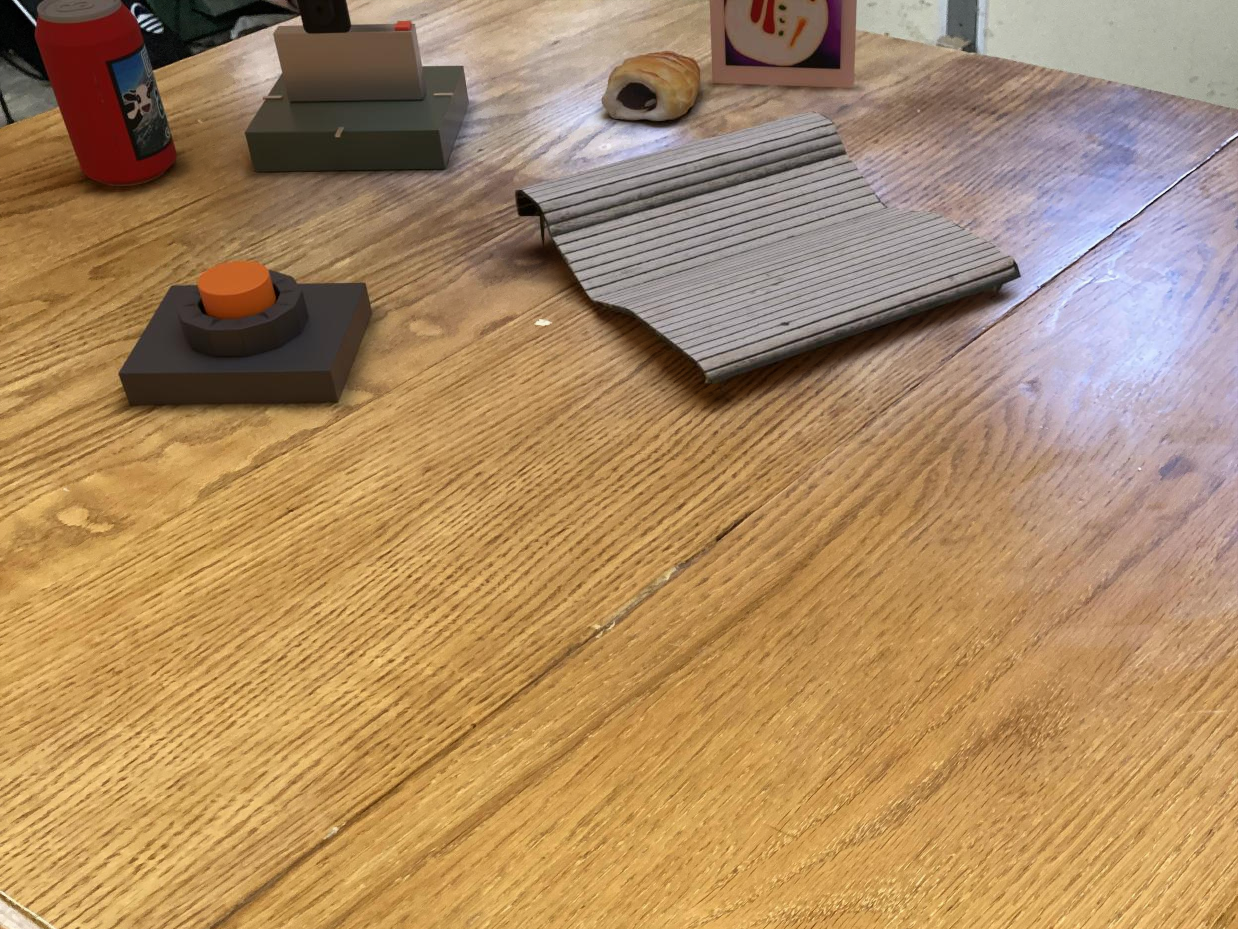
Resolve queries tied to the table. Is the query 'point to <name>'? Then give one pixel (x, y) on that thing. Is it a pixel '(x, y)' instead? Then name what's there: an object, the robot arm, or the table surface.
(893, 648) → the table surface
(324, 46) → the grey rectangular slab
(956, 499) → the table surface
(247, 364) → the button box
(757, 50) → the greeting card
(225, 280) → the button
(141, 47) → the beverage can
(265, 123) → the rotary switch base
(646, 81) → the pastry
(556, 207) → the mat
